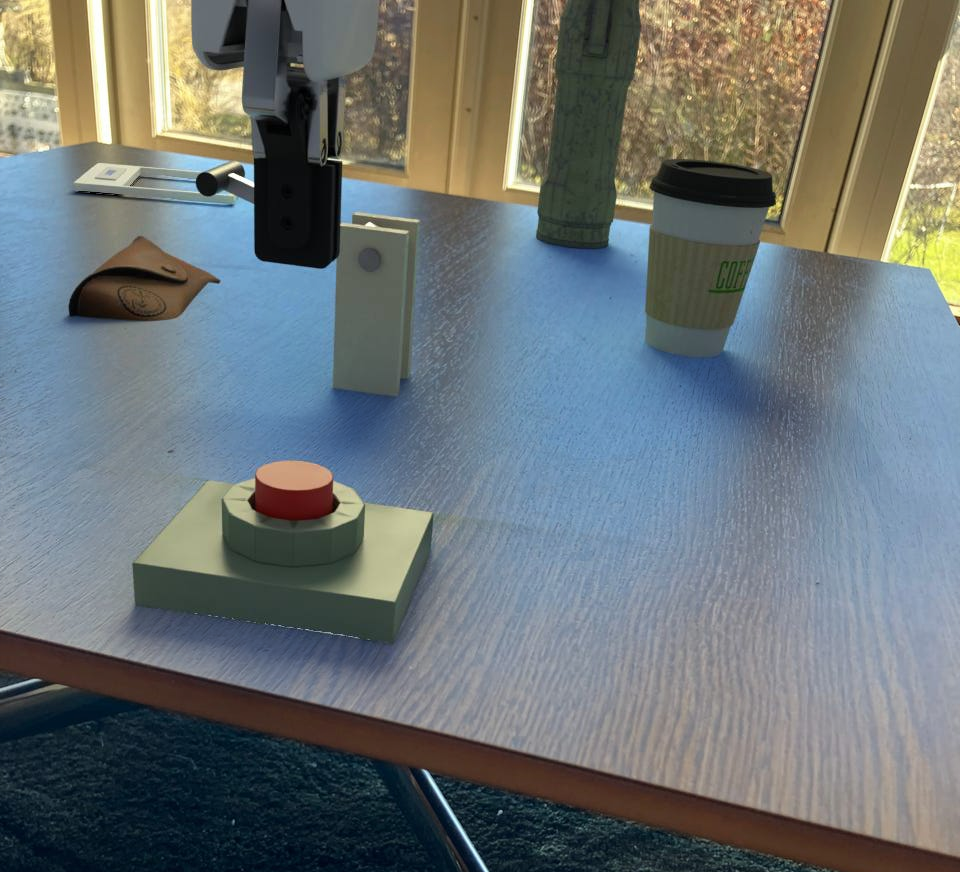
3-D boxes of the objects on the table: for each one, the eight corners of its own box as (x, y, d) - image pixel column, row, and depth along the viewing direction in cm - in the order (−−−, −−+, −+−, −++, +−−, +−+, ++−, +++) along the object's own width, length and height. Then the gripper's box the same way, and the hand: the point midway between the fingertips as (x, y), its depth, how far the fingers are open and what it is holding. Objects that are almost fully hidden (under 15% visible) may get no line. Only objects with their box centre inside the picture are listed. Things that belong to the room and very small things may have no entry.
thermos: (537, 247, 128) (580, -122, 111) (532, 226, 139) (571, -115, 121) (614, 254, 129) (669, -112, 111) (603, 233, 139) (653, -105, 121)
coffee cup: (761, 379, 92) (806, 183, 84) (651, 379, 89) (687, 176, 81) (707, 343, 100) (743, 161, 92) (604, 342, 97) (633, 154, 89)
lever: (190, 198, 71) (200, 160, 70) (219, 185, 75) (229, 149, 74) (383, 286, 72) (396, 251, 71) (400, 268, 77) (412, 235, 75)
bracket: (285, 407, 75) (287, 223, 69) (316, 372, 82) (319, 202, 76) (432, 428, 75) (446, 244, 69) (451, 391, 82) (465, 221, 76)
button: (245, 519, 52) (244, 483, 51) (268, 489, 55) (268, 455, 54) (321, 530, 52) (322, 495, 51) (340, 499, 55) (341, 466, 54)
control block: (134, 605, 51) (128, 526, 49) (208, 517, 60) (206, 446, 58) (393, 645, 51) (398, 566, 49) (430, 550, 59) (436, 479, 57)
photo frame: (97, 161, 141) (244, 173, 144) (98, 170, 142) (244, 183, 144) (73, 180, 129) (233, 194, 131) (74, 191, 130) (233, 204, 132)
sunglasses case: (184, 336, 85) (133, 253, 82) (105, 375, 86) (53, 296, 83) (224, 279, 100) (182, 208, 97) (157, 314, 102) (114, 245, 99)
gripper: (262, -263, 45) (263, 219, 54) (105, -365, 32) (142, 290, 41) (448, -245, 45) (416, 238, 54) (364, -341, 32) (342, 316, 41)
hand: (297, 259), depth 48 cm, fingers closed
